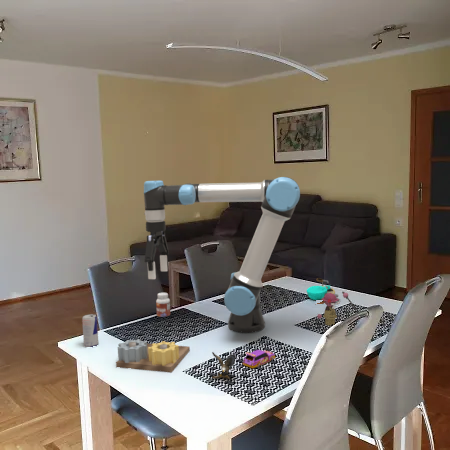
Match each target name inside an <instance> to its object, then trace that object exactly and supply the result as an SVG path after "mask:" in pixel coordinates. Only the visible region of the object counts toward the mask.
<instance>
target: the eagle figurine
mask: <svg viewBox="0 0 450 450" xmlns="http://www.w3.org/2000/svg"><path fill="white" fill-rule="evenodd" d="M211 353H212V356H213V357H215V359H217V360H218V364H219V366H220V367H221V372H217V375H215V376H212V378H213V379H216V378H217V379H220V378H225V379H228V380H230V379H231V378H230V376H229V370H230V371H231V370H232V368H231V367H233V366H234V365H235V361H236V359H237V358H236V357H237V356H236V355H235V354H232V353H231V354H229V355H228V356H227V357H226V358H225V362H223V360H222V358H221V357H220V356H218V355H217V354H216V353H215V352H214V351H212V352H211Z"/></svg>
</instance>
